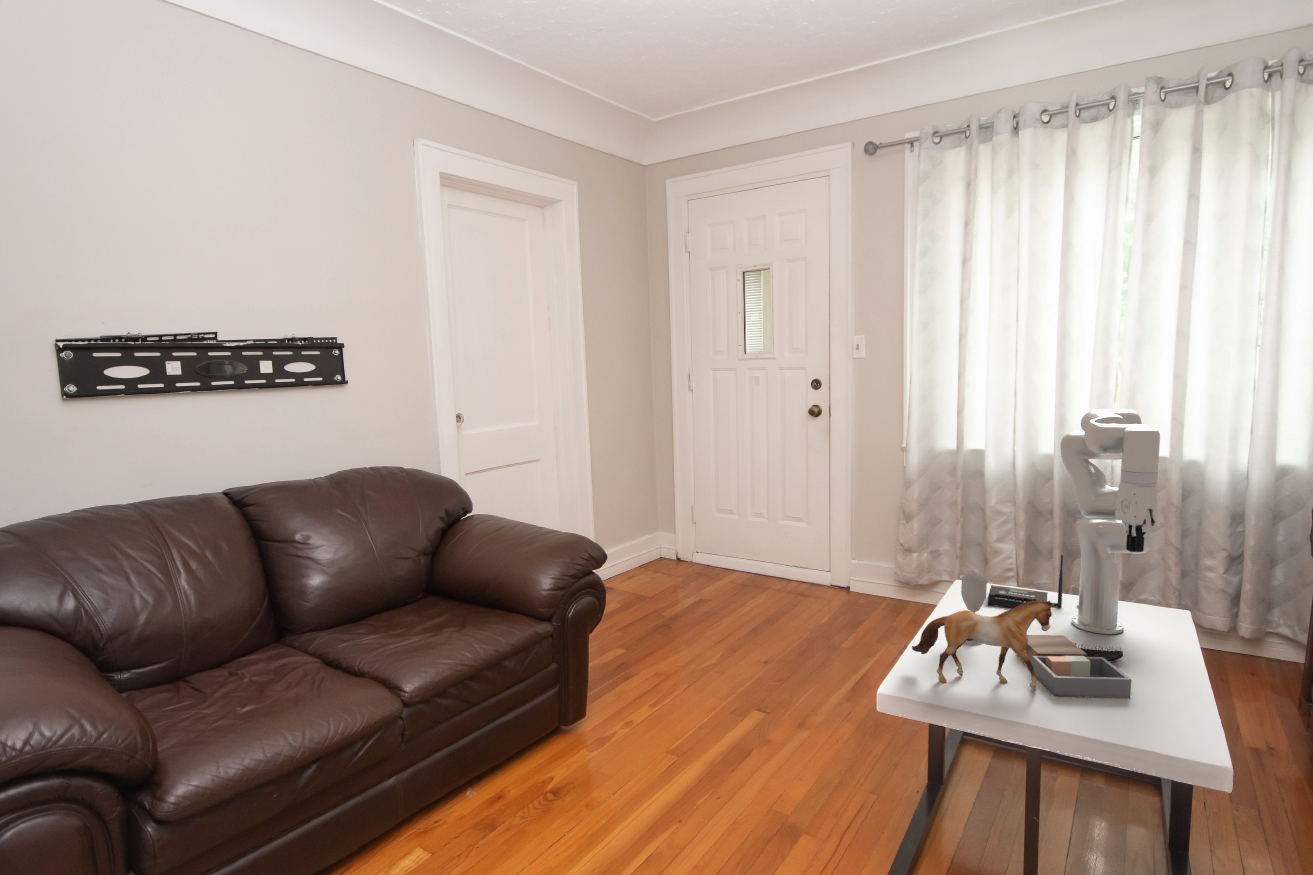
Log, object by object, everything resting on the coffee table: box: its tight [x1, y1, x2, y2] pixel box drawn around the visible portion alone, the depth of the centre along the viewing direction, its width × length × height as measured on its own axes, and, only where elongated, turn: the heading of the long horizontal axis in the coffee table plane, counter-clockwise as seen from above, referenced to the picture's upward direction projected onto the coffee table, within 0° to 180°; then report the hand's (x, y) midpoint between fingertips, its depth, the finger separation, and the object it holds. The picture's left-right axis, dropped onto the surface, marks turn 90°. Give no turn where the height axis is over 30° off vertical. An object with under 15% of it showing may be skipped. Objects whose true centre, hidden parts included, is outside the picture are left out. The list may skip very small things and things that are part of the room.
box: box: [1032, 656, 1132, 699], centre depth 166 cm, size 12×16×4 cm
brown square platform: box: [1025, 634, 1087, 663], centre depth 178 cm, size 12×12×5 cm
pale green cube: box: [1065, 656, 1090, 677], centre depth 169 cm, size 4×4×3 cm
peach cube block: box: [1046, 656, 1072, 677], centre depth 169 cm, size 4×4×3 cm
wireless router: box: [987, 554, 1064, 609], centre depth 220 cm, size 20×14×17 cm
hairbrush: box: [1071, 641, 1124, 663], centre depth 185 cm, size 8×4×25 cm
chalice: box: [959, 573, 990, 646], centre depth 192 cm, size 7×7×18 cm
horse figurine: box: [911, 600, 1055, 692], centre depth 168 cm, size 31×8×21 cm, turn 72°
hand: (1134, 550), depth 175 cm, fingers closed
